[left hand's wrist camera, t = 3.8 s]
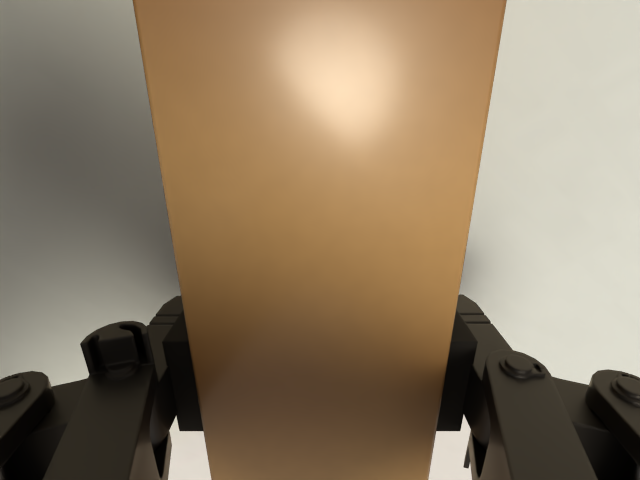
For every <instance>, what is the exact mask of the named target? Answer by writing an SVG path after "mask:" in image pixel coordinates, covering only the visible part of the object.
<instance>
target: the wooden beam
mask: <svg viewBox="0 0 640 480" xmlns="http://www.w3.org/2000/svg"><path fill="white" fill-rule="evenodd" d="M506 1H507V0H133V5H134V11H135V17H136V23H137V29H138V35H139V41H140V48H141V54H142V60H143V66H144V72H145V78H146V84H147V90H148V96H149V102H150V108H151V114H152V120H153V127H154V133H155V139H156V145H157V151H158V157H159V163H160V169H161V175H162V181H163V187H164V193H165V199H166V206H167V212H168V218H169V224H170V230H171V236H172V242H173V248H174V254H175V260H176V266H177V272H178V278H179V285H180V291H181V297H182V303H183V309H184V315H185V321H186V327H187V333H188V339H189V345H190V351H191V358H192V364H193V370H194V376H195V382H196V388H197V394H198V400H199V406H200V412H201V418H202V424H203V430H204V437H205V443H206V449H207V455H208V461H209V467H210V473H211V479H212V480H428V477H429V471H430V465H431V459H432V453H433V447H434V441H435V434H436V428H437V422H438V416H439V410H440V404H441V398H442V392H443V386H444V380H445V373H446V367H447V361H448V355H449V349H450V343H451V337H452V331H453V325H454V319H455V312H456V306H457V300H458V294H459V288H460V282H461V276H462V270H463V264H464V257H465V251H466V245H467V239H468V233H469V227H470V221H471V215H472V209H473V203H474V196H475V190H476V184H477V178H478V172H479V166H480V160H481V154H482V148H483V142H484V135H485V129H486V123H487V117H488V111H489V105H490V99H491V93H492V87H493V81H494V74H495V68H496V62H497V56H498V50H499V44H500V38H501V32H502V26H503V20H504V13H505V7H506Z"/></svg>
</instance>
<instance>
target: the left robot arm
mask: <svg viewBox="0 0 640 480" xmlns="http://www.w3.org/2000/svg"><path fill="white" fill-rule="evenodd" d="M80 345H81V348H82V351H83V355H84V358H85V361H86V364H87V368H88V371H89V374H90V375H89V377H88V378H87V379H84V380H80V381H75V382H71V383H66V384H61V385H57V386H52V387H51V384H50V382H49V379H48V377H47V376H46V375H45V374H44V373H42V372H35V371H30V372H23V373H18V374H14V375H12V376H8V377H5V378H3V379H1V380H0V480H168V474H169V465H170V456H171V447H172V444H171V437H170V432H169V430H170V428H171V425H172V423H173V421H174V419H175V417H176V415H177V420H178V425H179V430H180V431H204V430H203V424H202V418H201V412H200V406H199V400H198V394H197V388H196V382H195V376H194V370H193V364H192V358H191V351H190V345H189V339H188V333H187V327H186V321H185V315H184V309H183V303H182V297H181V296H176V297H174V298H173V299H171V300H170V301H168V302H167V303H165V304H164V305H163V306H162V307H161V309H160V310H159V311H158V313H157V314H156V317H154V318H153V319H152V320H151V322H150V324H149V325H147V327H146V326H145V325H144V324H143V323H140V322H135V321H123V322H118V323H113V324H109V325H107V326H104V327H102V328H100V329H97V330H96V331H94V332H93V333H91V334H90V335H88V336H87V337H86V338H85V339H84V340H83V341H82V342H81V344H80ZM463 414H464V415H465V418H466V420H467V422H468V424H469V426H470V428H471V432H470V437H469V441H468V446H467V451H466V456H465V461H464V467H465V468H469V464H471V473H472V480H640V378H639V377H637V376H634V375H632V374H628V373H625V372H621V371H615V370H601V371H597V372H596V373H595V374H593V375H592V378H591V381H590V384H589V385H586V384H581V383H577V382H572V381H567V380H563V379H558V378H555V377H552V376H551V374H550V373H549V371H548V370H547V369H546V367H545V366H544V365H543V364H541V363H540V362H539V361H537V360H536V359H534V358H532V357H530V356H528V355H526V354H524V353H521V352H517V351H513V350H512V349H511V347H510V346H509V345H508V343H507V342H506V341H505V340H504V338H503V337H502V336H501V334H500V333H499V332H498V331H497V329H496V328H495V327H494V325H493V324H491V323H490V320H489V319H488V318H487V316H486V315H484V313H483V311H482V310H481V309H480V307H479V306H478V305H477V304H476V303H475V302H473V301H472V300H470V299H469V298H467V297H466V296H464V295H458V300H457V306H456V312H455V319H454V325H453V331H452V337H451V343H450V349H449V355H448V361H447V367H446V373H445V380H444V386H443V392H442V398H441V404H440V410H439V416H438V422H437V428H436V431H460V429H461V424H462V419H463Z"/></svg>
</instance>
